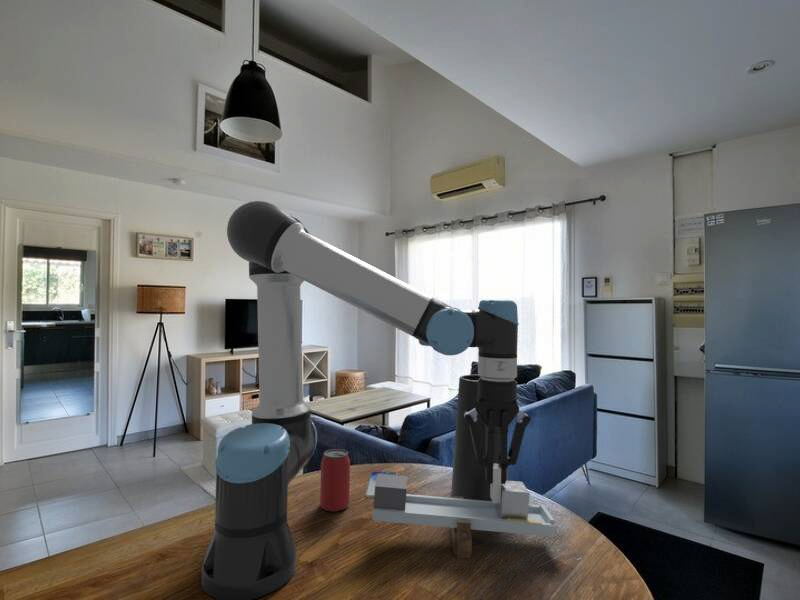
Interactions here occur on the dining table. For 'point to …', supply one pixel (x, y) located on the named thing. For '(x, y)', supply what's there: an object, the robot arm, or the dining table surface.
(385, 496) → the beam
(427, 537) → the dining table surface
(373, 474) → the smartphone
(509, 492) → the block
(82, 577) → the dining table surface
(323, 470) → the beer can
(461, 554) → the fulcrum
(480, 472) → the vase
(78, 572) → the dining table surface
